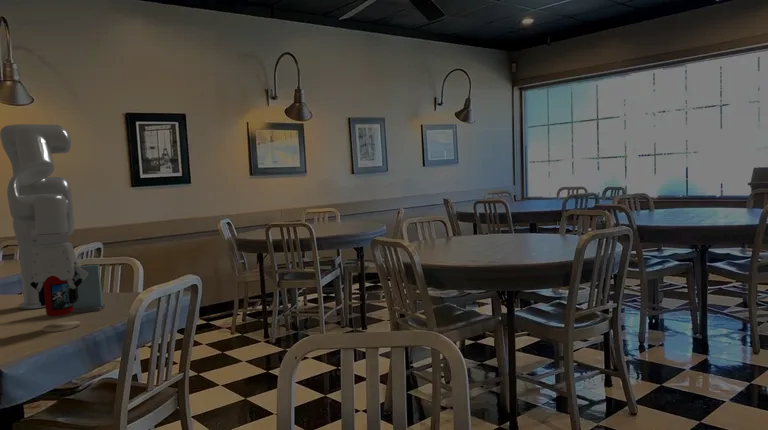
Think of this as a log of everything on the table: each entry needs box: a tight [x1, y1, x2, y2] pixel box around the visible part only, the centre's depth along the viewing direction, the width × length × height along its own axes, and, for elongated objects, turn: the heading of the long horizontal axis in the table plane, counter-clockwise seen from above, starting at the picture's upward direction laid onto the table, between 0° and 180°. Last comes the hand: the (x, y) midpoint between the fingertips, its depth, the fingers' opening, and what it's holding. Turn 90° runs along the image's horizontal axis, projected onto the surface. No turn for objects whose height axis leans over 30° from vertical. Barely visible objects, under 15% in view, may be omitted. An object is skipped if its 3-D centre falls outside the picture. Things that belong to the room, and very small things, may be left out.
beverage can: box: [43, 276, 74, 318], centre depth 156 cm, size 7×7×12 cm
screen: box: [70, 264, 106, 314], centre depth 176 cm, size 5×14×14 cm, turn 99°
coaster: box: [42, 320, 81, 333], centre depth 156 cm, size 9×9×1 cm
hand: (59, 303), depth 156 cm, fingers closed on beverage can, 6 cm apart
